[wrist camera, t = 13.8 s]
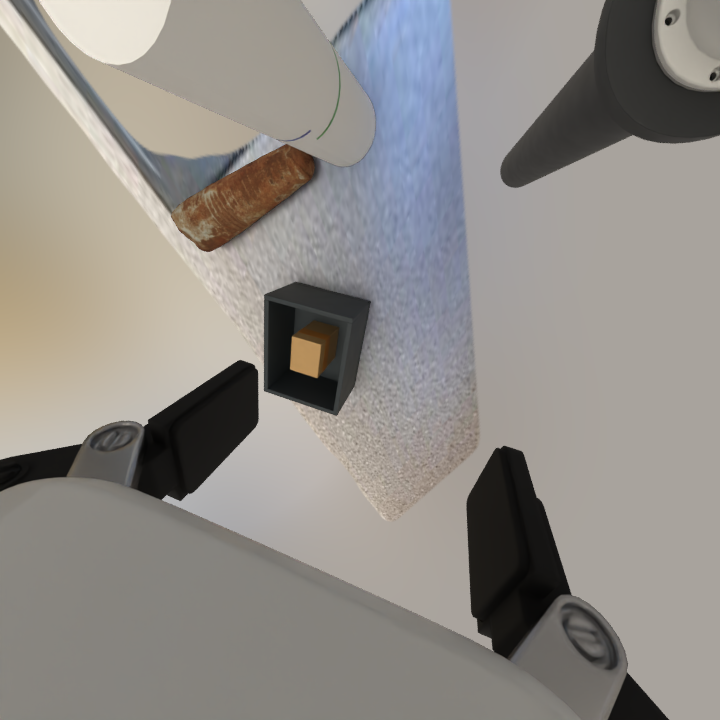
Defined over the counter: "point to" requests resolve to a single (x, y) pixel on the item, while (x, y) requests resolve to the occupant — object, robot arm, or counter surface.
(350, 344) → the bin
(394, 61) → the counter surface
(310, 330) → the carton
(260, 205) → the bread
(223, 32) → the cylindrical container
